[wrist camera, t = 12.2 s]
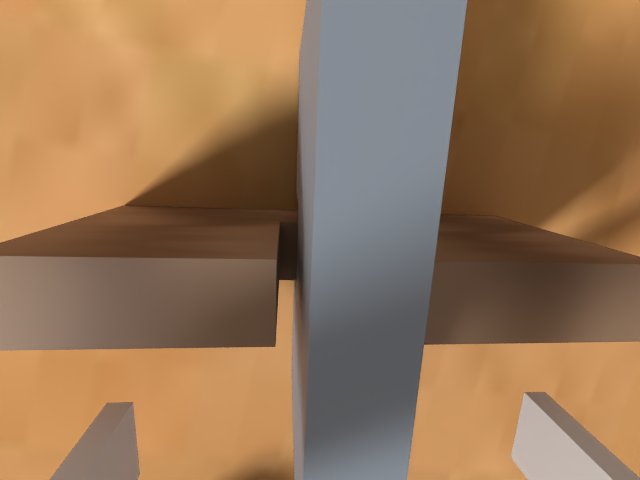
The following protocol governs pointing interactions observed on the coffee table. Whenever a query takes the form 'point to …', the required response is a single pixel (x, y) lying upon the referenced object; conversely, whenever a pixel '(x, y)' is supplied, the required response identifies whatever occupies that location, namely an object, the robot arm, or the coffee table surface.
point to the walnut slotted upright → (281, 264)
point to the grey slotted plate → (367, 225)
